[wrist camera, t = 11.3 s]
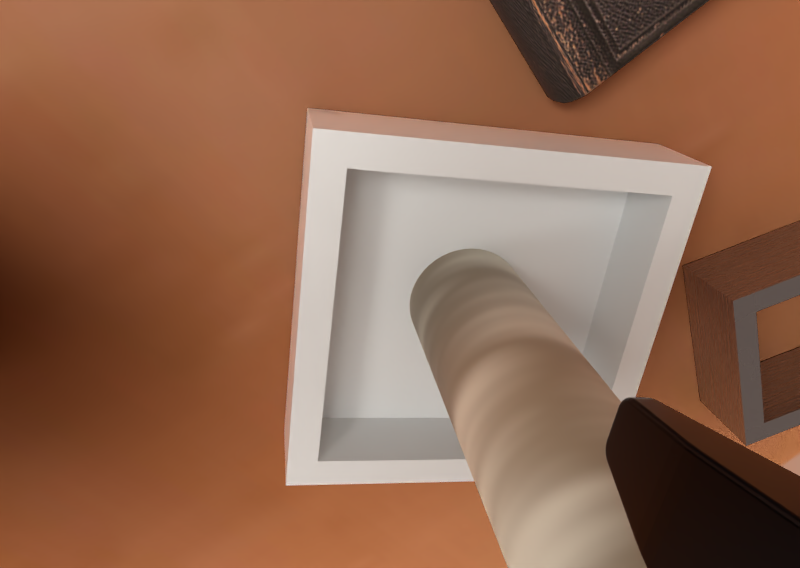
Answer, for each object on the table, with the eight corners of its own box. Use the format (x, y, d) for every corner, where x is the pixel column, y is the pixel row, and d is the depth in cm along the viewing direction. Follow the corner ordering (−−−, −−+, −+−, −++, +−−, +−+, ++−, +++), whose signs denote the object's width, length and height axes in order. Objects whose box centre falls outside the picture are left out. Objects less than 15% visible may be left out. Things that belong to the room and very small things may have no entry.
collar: (700, 400, 28) (746, 445, 25) (682, 265, 24) (732, 300, 22) (846, 343, 28) (908, 382, 25) (848, 202, 25) (917, 229, 22)
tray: (284, 430, 24) (285, 485, 22) (307, 107, 20) (313, 128, 17) (575, 428, 27) (608, 478, 24) (658, 144, 22) (711, 166, 19)
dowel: (429, 366, 24) (573, 737, 12) (394, 274, 22) (522, 605, 10) (531, 326, 24) (773, 659, 12) (504, 231, 22) (758, 514, 10)
